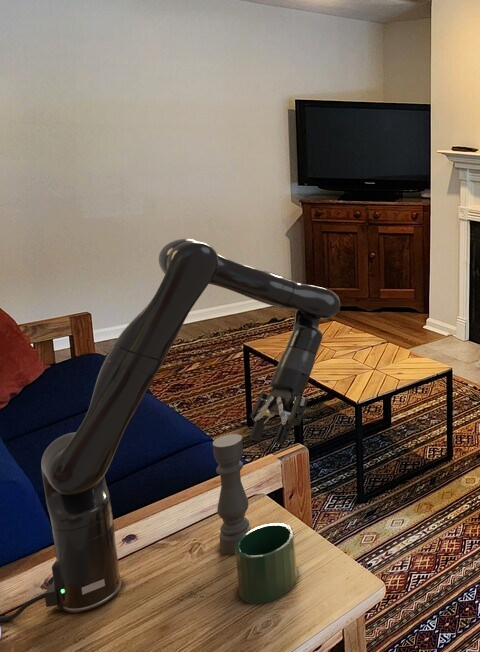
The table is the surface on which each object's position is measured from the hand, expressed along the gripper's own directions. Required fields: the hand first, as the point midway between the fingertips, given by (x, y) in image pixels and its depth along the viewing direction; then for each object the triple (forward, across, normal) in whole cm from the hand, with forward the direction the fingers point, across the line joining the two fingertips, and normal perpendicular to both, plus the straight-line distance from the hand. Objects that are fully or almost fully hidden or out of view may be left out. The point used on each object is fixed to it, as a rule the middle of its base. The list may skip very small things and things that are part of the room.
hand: (266, 441), depth 136 cm
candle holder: (+21, -8, +9) cm, 25 cm away
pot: (+26, +8, +7) cm, 28 cm away
